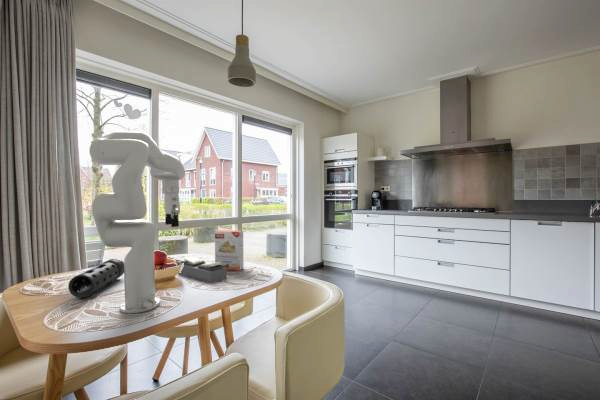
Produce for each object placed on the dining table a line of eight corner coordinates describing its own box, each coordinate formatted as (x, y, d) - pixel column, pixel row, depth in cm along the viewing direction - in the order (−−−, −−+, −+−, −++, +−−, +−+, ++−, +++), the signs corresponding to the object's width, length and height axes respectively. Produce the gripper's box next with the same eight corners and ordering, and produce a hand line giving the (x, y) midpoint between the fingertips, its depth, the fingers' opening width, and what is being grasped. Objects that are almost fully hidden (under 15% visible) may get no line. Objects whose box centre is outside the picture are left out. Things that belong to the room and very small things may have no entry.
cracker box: (214, 270, 149) (214, 231, 149) (219, 267, 155) (219, 229, 155) (239, 271, 147) (239, 231, 147) (243, 268, 153) (243, 230, 153)
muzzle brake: (67, 301, 108) (66, 274, 108) (106, 279, 136) (105, 257, 135) (94, 300, 109) (94, 273, 109) (127, 278, 137) (127, 257, 137)
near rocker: (220, 265, 135) (219, 261, 135) (211, 268, 131) (211, 264, 131) (209, 265, 140) (209, 262, 140) (201, 268, 136) (200, 264, 136)
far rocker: (202, 264, 144) (202, 260, 143) (193, 266, 139) (193, 262, 139) (192, 259, 148) (193, 256, 148) (184, 261, 144) (184, 258, 144)
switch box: (226, 277, 136) (226, 265, 136) (210, 282, 129) (210, 269, 128) (194, 269, 151) (194, 258, 151) (178, 273, 144) (178, 261, 143)
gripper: (184, 190, 133) (185, 226, 134) (173, 190, 146) (174, 222, 147) (167, 191, 128) (168, 228, 129) (157, 190, 141) (159, 224, 142)
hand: (171, 225), depth 138 cm, fingers open, 9 cm apart
